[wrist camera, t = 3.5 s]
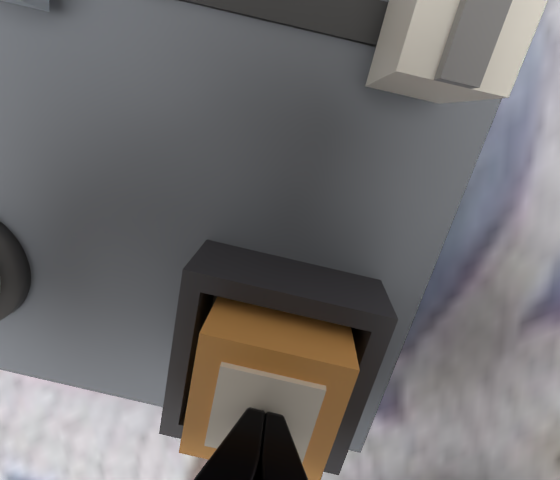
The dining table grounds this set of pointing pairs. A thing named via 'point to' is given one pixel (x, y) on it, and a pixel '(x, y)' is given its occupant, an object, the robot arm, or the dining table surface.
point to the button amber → (270, 378)
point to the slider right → (453, 48)
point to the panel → (213, 188)
